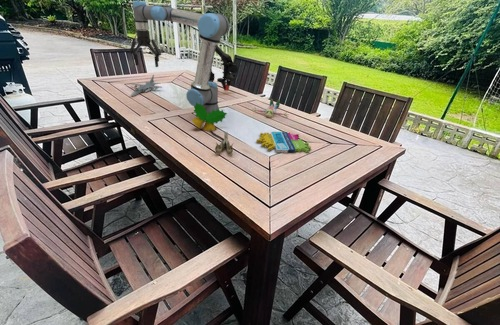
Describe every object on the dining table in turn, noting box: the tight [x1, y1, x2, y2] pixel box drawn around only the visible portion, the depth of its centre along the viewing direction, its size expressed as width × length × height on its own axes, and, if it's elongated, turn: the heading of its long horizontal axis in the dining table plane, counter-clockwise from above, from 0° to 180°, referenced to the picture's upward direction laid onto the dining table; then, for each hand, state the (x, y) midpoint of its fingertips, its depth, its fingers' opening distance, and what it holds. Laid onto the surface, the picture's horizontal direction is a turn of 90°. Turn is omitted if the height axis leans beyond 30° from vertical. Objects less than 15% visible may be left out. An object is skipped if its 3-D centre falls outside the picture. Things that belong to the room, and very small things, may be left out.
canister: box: [223, 84, 230, 92], centre depth 235 cm, size 4×4×4 cm
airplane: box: [128, 74, 161, 97], centre depth 228 cm, size 38×31×10 cm
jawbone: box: [214, 131, 234, 156], centre depth 136 cm, size 9×15×10 cm
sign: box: [256, 131, 312, 154], centre depth 152 cm, size 26×2×30 cm
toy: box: [251, 98, 290, 118], centre depth 199 cm, size 28×7×30 cm
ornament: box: [191, 102, 228, 132], centre depth 162 cm, size 21×8×15 cm, turn 105°
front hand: (147, 66), depth 173 cm, fingers open, 13 cm apart
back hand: (226, 89), depth 236 cm, fingers closed on canister, 4 cm apart
